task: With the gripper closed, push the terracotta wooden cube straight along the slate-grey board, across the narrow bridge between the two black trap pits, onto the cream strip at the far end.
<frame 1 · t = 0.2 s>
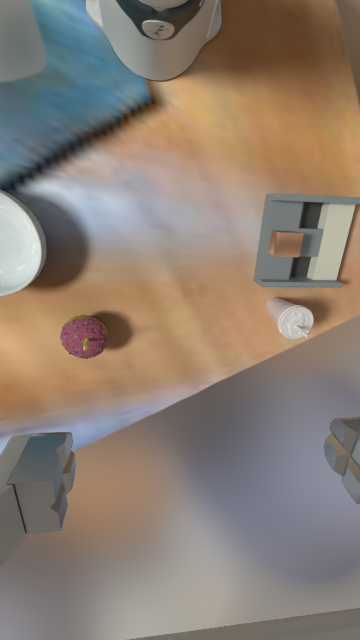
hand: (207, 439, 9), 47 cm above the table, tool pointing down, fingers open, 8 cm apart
smoothie: (274, 305, 60), on the table
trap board: (299, 241, 55), on the table
cereal bowl: (4, 238, 49), on the table
cupcake: (89, 327, 57), on the table
terracotta block: (280, 242, 52), point 2 cm above the table, touching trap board
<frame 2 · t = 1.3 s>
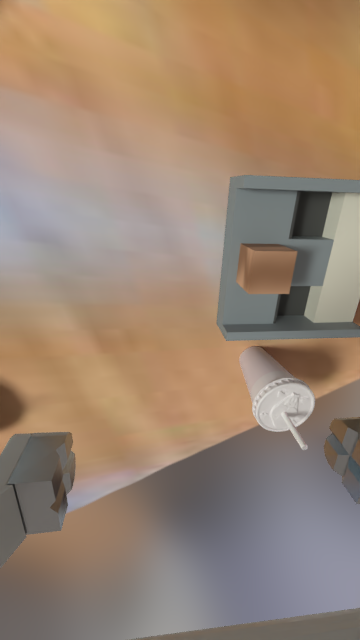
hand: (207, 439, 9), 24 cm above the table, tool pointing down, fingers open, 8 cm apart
smoothie: (252, 357, 38), on the table
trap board: (290, 258, 32), on the table
terracotta block: (256, 263, 30), point 2 cm above the table, touching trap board
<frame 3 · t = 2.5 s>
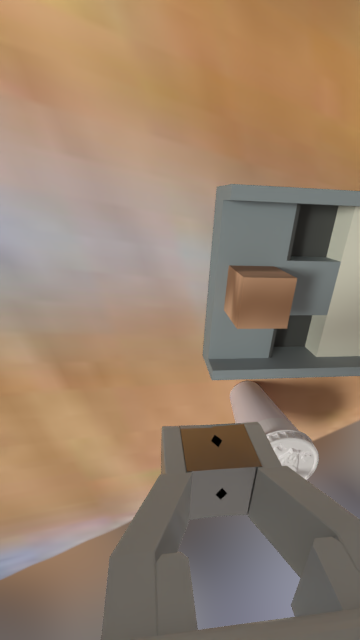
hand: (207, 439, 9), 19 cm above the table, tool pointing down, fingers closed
smoothie: (245, 393, 33), on the table
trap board: (289, 281, 28), on the table
terracotta block: (248, 288, 25), point 2 cm above the table, touching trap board
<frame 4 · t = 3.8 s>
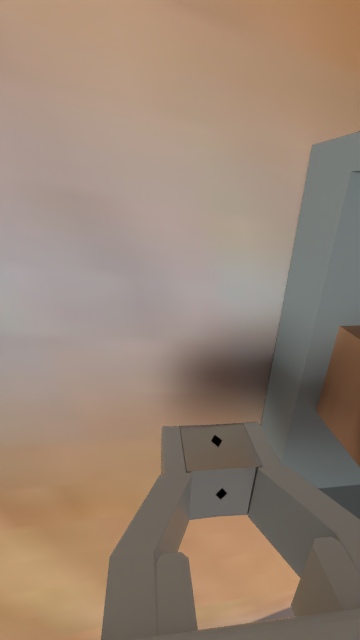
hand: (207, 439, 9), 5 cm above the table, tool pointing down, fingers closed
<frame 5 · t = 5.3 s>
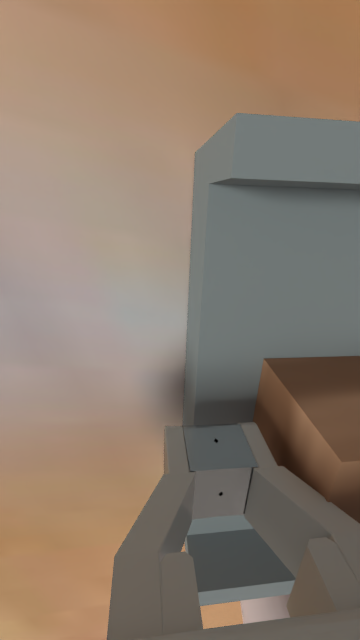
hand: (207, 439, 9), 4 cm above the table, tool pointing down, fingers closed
smoothie: (260, 542, 18), on the table
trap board: (358, 362, 13), on the table
terracotta block: (307, 405, 10), point 3 cm above the table, touching gripper
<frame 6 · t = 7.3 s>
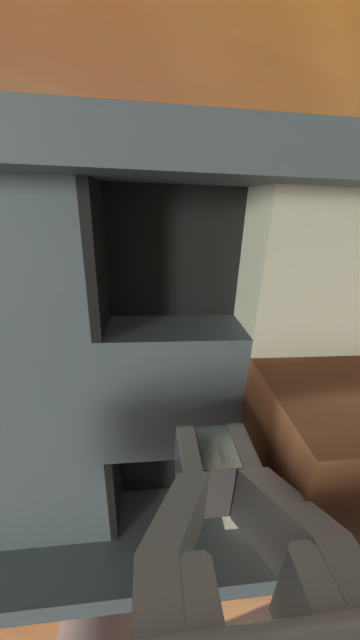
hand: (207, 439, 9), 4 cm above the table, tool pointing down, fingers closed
smoothie: (112, 556, 17), on the table
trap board: (156, 367, 12), on the table
terracotta block: (296, 404, 10), point 2 cm above the table, touching gripper, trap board
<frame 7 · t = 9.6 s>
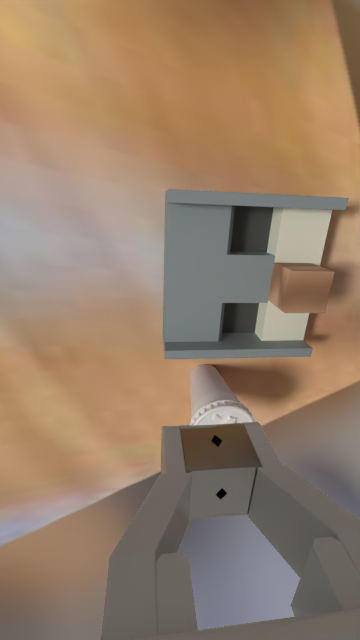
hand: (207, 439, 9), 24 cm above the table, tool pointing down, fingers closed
smoothie: (204, 375, 36), on the table
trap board: (236, 274, 31), on the table
terracotta block: (289, 281, 30), point 2 cm above the table, touching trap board
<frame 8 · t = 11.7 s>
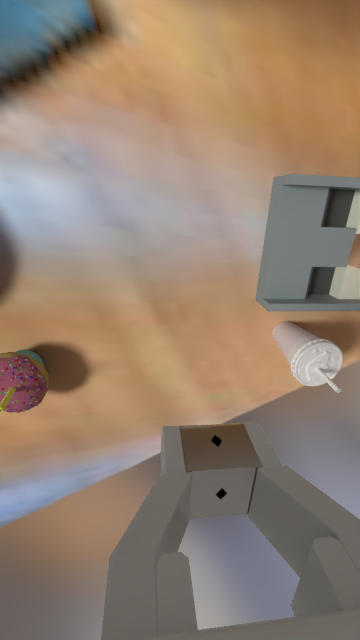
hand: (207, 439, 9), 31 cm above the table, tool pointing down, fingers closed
smoothie: (283, 331, 44), on the table
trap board: (319, 244, 39), on the table
cupcake: (27, 364, 41), on the table
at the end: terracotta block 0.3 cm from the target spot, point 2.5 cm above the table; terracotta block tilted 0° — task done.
